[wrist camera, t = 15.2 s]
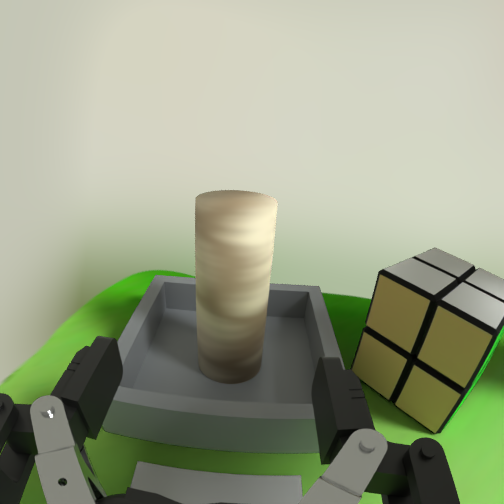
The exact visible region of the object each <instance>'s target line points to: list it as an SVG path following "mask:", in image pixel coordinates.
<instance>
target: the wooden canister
mask: <svg viewBox="0 0 504 504" xmlns="http://www.w3.org/2000/svg"><path fill="white" fill-rule="evenodd" d="M277 203H278V202H277V200H276V199H274V198H272V197H270V196H268V195H264V194H260V193H255V192H249V191H238V190H221V191H211V192H206V193H203V194H200V195H198V196H197V197H196V206H195V272H196V273H195V274H196V318H197V345H198V365H199V368H200V370H201V371H202V373H203V374H204V375H205V376H207V377H208V378H210V379H211V380H213V381H216V382H219V383H224V384H238V383H242V382H246V381H248V380H250V379H252V378H253V377H255V376H256V375H257V373H258V372H259V370H260V368H261V361H262V352H263V343H264V334H265V325H266V316H267V307H268V297H269V287H270V278H271V277H270V276H271V267H272V257H273V247H274V237H275V226H276V215H277Z"/></svg>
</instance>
